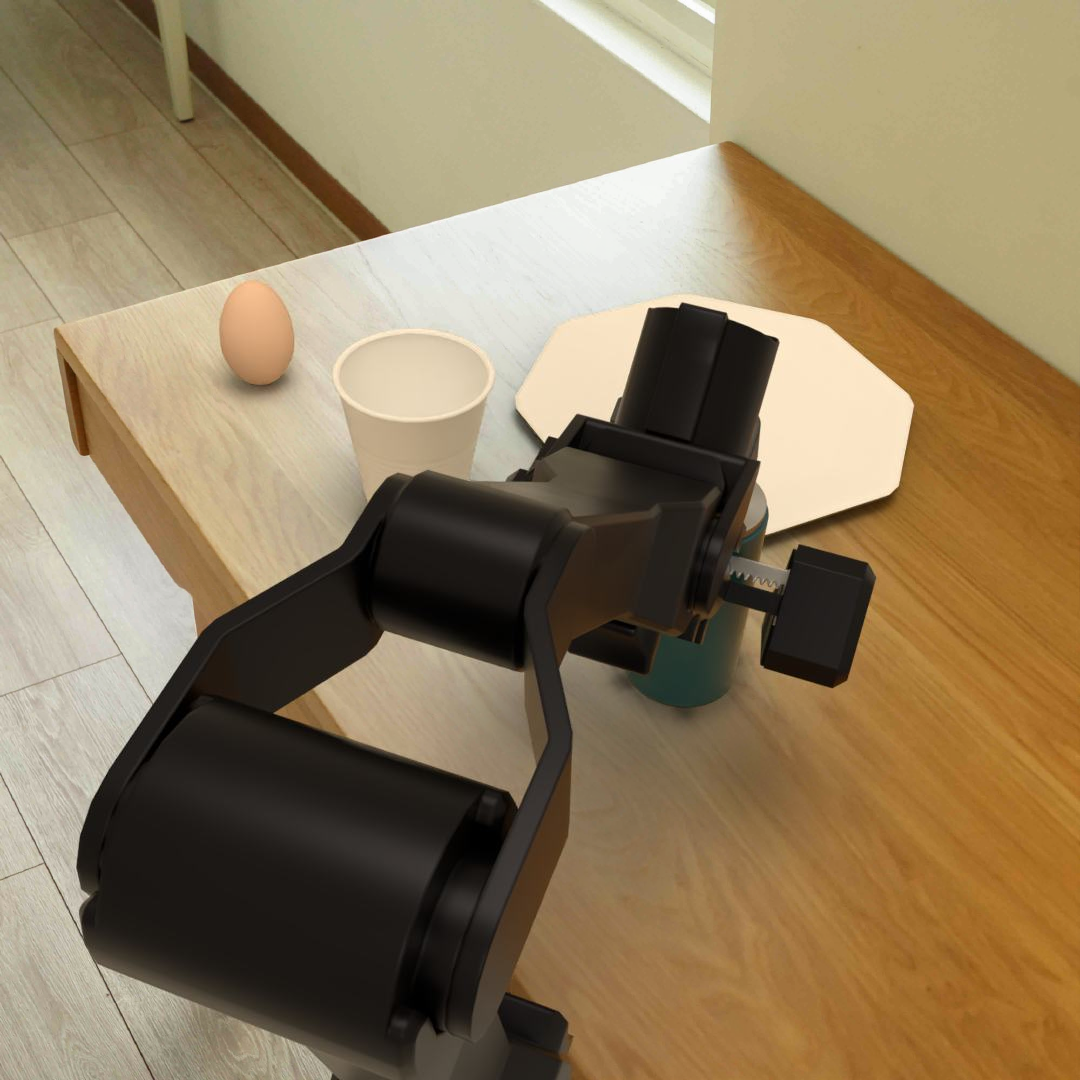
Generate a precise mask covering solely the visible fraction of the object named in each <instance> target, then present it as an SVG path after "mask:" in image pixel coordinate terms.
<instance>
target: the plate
mask: <svg viewBox="0 0 1080 1080" xmlns="http://www.w3.org/2000/svg"><path fill="white" fill-rule="evenodd" d="M682 302H684V303H688V304H692V305H697V306H701V307H705V308H709V309H714V310H718V311H722V312H726V313H727V315H728V318H729V319H730V320H733V321H736V322H738V323H741V324H744V325H746V326H749V327H751V328H753V329H755V330H758V331H760V332H762V333H763V334H765V335H769V336H773V337H776V338H778V339H779V342H780V343H779V347H778V350H777V354H776V357H775V361H774V364H773V368H772V371H771V374H770V378H769V381H768V385H767V388H766V392H765V395H764V399H763V402H762V406H761V409H760V413H759V418H760V421H761V428H760V438H759V449H758V458H757V460H758V461H761V464H760V469H759V472H758V476H757V479H756V482H757V484H758V485H759V486H760V487H761V489H762V490H763V492H764V494H765V497H766V500H767V506H768V510H769V518H768V523H767V528H766V533H765V537H764V538H768V537H770V536H775V535H777V534H780V533H783V532H786V531H789V530H792V529H795V528H799V527H801V526H805V525H807V524H811V523H813V522H816V521H820V520H823V519H825V518H829V517H832V516H835V515H838V514H841V513H844V512H848V511H850V510H854V509H857V508H860V507H862V506H865V505H869V504H873V503H875V502H878V501H882V500H885V499H887V498H889V497H890V496H891V495H892V494H893V493H895V492H896V491H897V490H898V489H899V486H900V482H901V476H902V471H903V465H904V459H905V455H906V454H905V453H906V449H907V445H908V440H909V435H910V428H911V423H912V418H913V414H914V409H915V403H914V402H913V400H912V397H911V396H910V393H908V392H906V390H904V389H903V388H902V387H901V386H899V385H898V384H897V383H896V382H895V381H894V380H892V379H891V378H890V377H889V376H888V375H887V374H885V373H884V372H883V371H882V370H881V369H880V368H878V367H877V366H876V365H875V364H874V363H872V362H871V361H870V360H869V359H868V358H866V357H865V356H864V355H863V354H862V353H861V352H860V351H858V350H857V349H856V348H855V347H853V346H852V345H851V344H850V343H849V342H848V341H846V339H844V338H843V337H842V336H841V335H840V334H838V333H837V332H836V331H835V330H833V328H831V327H830V326H829V325H827V324H825V323H823V322H820V321H819V320H816V319H814V318H810V317H805V316H799V315H795V314H790V313H787V312H780V311H777V310H772V309H767V308H762V307H756V306H752V305H748V304H742V303H739V302H733V301H729V300H723V299H718V298H715V297H714V298H713V297H709V296H705V295H699V294H694V293H674V294H671V295H666V296H662V297H657V298H654V299H649V300H645V301H640V302H637V303H633V304H628V305H624V306H620V307H616V308H615V307H614V308H612V309H607V310H603V311H599V312H595V313H591V314H586V315H582V316H578V317H572V318H570V319H566V320H565V321H563V322H562V323H560V324H558V325H556V326H555V327H554V329H553V330H552V333H551V335H550V336H549V338H548V340H547V341H546V343H545V345H544V347H543V348H542V350H541V351H540V353H539V355H538V357H537V359H536V360H535V361H534V364H533V366H532V367H531V369H530V370H529V372H528V374H527V375H526V377H525V379H524V380H523V382H522V384H521V386H520V388H519V389H518V390H517V393H516V394H515V396H514V403H515V405H514V406H515V411H516V412H517V414H518V415H519V416H520V417H521V419H522V420H523V421H524V422H525V424H526V425H527V426H528V427H529V429H530V430H531V431H532V432H533V433H534V434H535V436H536V437H537V438H538V439H539V441H540V442H541V443H542V445H544V443H545V441H546V439H547V438H548V436H551V437H555V438H559V437H560V435H561V434H562V433H563V431H564V430H565V429H566V427H567V426H568V425H569V423H570V422H571V420H572V419H573V418H574V416H575V415H576V414H581V415H585V416H589V417H593V418H596V419H600V420H604V421H608V422H610V418H611V416H612V413H613V410H614V408H615V405H616V403H617V400H618V398H620V397H622V396H623V392H624V389H625V386H626V382H627V379H628V375H629V372H630V369H631V365H632V362H633V358H634V355H635V352H636V348H637V345H638V341H639V338H640V334H641V331H642V328H643V324H644V321H645V317H646V314H647V311H648V308H656V307H674V308H679V306H680V304H681V303H682Z"/></svg>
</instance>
